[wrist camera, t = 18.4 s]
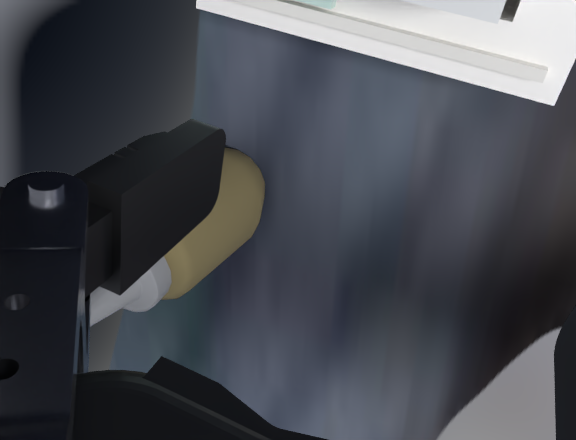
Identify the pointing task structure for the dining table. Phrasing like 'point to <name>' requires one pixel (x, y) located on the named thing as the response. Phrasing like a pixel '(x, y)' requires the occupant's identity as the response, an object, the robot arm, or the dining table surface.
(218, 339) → the dining table surface
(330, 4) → the mint green l-shaped block
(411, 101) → the dining table surface
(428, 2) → the plug
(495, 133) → the dining table surface
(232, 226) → the squeeze bottle
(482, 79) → the socket
